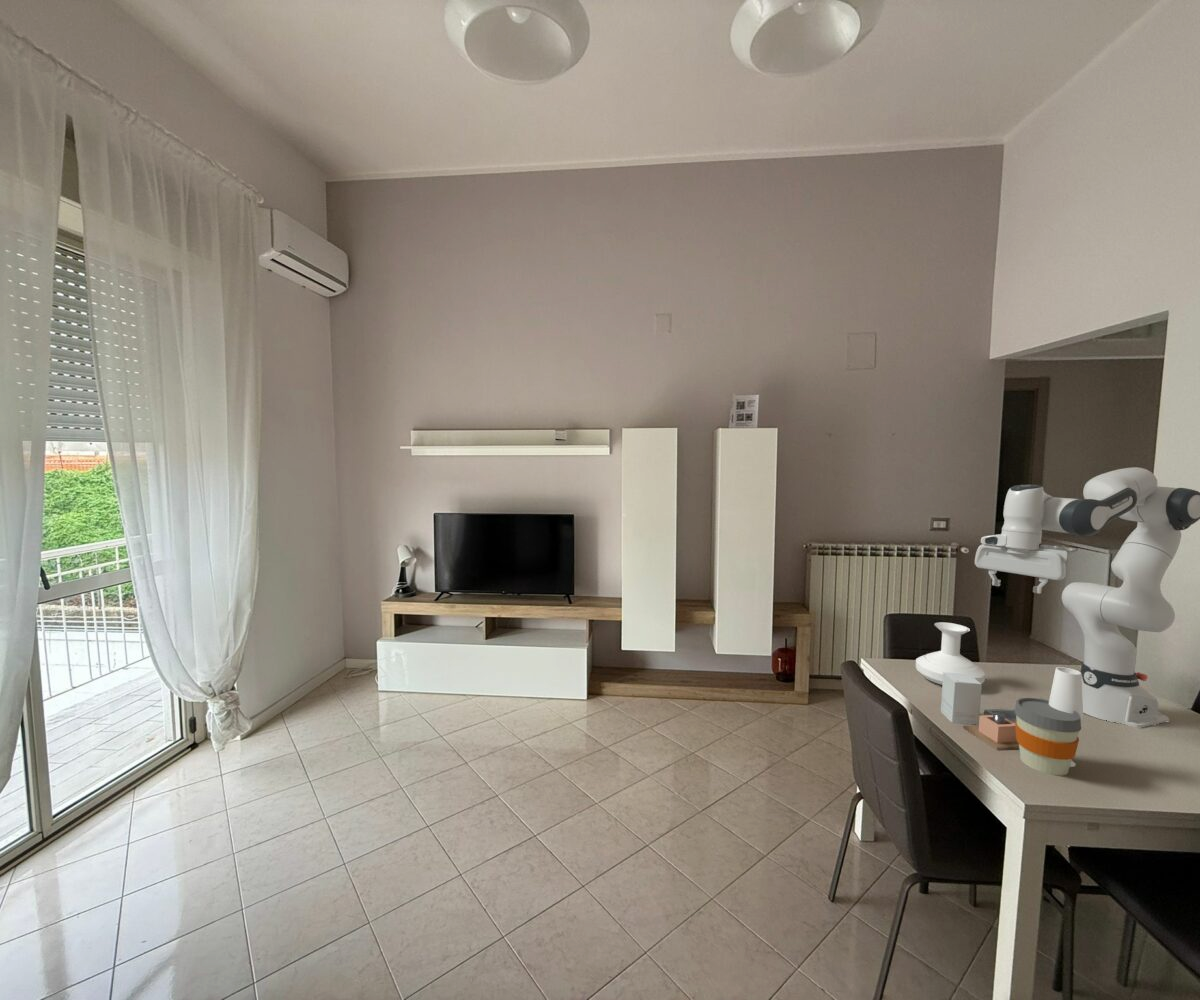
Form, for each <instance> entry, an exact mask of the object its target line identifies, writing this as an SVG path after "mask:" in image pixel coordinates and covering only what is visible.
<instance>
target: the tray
mask: <svg viewBox="0 0 1200 1000" xmlns="http://www.w3.org/2000/svg"><path fill="white" fill-rule="evenodd" d="M1014 711H1015V707H1014V708H994V709H991V708H989V709H984V711H983V715H993V713H994V712H998V713H1002V714H1004V715H1005V718H1006V719H1008V720H1010V721H1011V722H1013V723H1015V721H1016V720H1017V719H1016V714H1015V712H1014Z"/></svg>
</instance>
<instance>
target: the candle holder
mask: <svg viewBox="0 0 1200 1000" xmlns="http://www.w3.org/2000/svg"><path fill="white" fill-rule="evenodd" d="M934 626H935V627H936V628H937V629H938V630H939V631H941V643H940V644H941V645H940V650H938V651H937V650H936V651H933V652H930V653H926V654H923V655H921V656H918V657H917V658H915V669H916V670H917V671H918V672H919V673H920V674H921V675H923V677H924V678H926V679H927V680H928V681H931V682H933V683H935V684H938V685H941V686H942V684H943V672H945V673H960V674H969V675H971V676H972V677H973V678H974V679H976V680H977V681H978V682H980V683H981V684H982V685H983V683H985V679H986V674H985V672H984V670H983V669H982V668H980V667H979V666H978V665H977V664H976V663H974V662H972V660H970V659H968V658H966V657H964V656H963V654H961V653H960V652H961V650H960V649H961V639H962V635H964V634H966V633H968V632H970V631H971V630H970V629H971V628H969V627H967V626H965V625H961V624H957V623H952V622H943V621H942V622H941V621H940V622H935V623H934Z"/></svg>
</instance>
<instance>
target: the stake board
mask: <svg viewBox="0 0 1200 1000" xmlns="http://www.w3.org/2000/svg"><path fill="white" fill-rule="evenodd" d="M963 728H964V729H965V730H964V729H963ZM962 729H963V730H964V731H966V730H967V731H968V732H967V731H966V732H967V733H969V732H970V733H969V734H971V735H972V734H973V736H974V737H975V736H976V737H975V738H977V739H978V738H979V739H978V740H980V741H982V742H984V743H985V744H986V745H988V746H989V745H990V747H991V748H993V749H995V750H996V751H1006V750H1020V749H1019V743H1018V742H1005V743H997V742H995V741H994V740H992V739H990V738H989V737H987V736H986V735H984V734H982V733H981V732H979V725H971V724H967V725H963V726H962Z"/></svg>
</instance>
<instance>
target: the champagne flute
mask: <svg viewBox="0 0 1200 1000" xmlns="http://www.w3.org/2000/svg"><path fill="white" fill-rule="evenodd" d="M1050 690H1051V691H1050V694H1049V699H1048V701H1049V705H1050V706H1051V707H1053V708H1054V709H1057V710H1060V711H1063V712H1067V713H1072V714H1074V711H1076V712H1077V713H1079V715H1080V719H1081V722H1082V721H1083V720H1084V713H1083V699H1082V678H1081V671H1079V670H1077V669H1073V668H1069V667H1065V666H1064V667H1063V666H1057V667H1055V670H1054V675H1053V680H1052V685H1051V689H1050ZM1072 767H1073V768H1074V767H1076V763H1075V762H1074V760H1072V759H1071V763H1070V767H1069V768H1072Z"/></svg>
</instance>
